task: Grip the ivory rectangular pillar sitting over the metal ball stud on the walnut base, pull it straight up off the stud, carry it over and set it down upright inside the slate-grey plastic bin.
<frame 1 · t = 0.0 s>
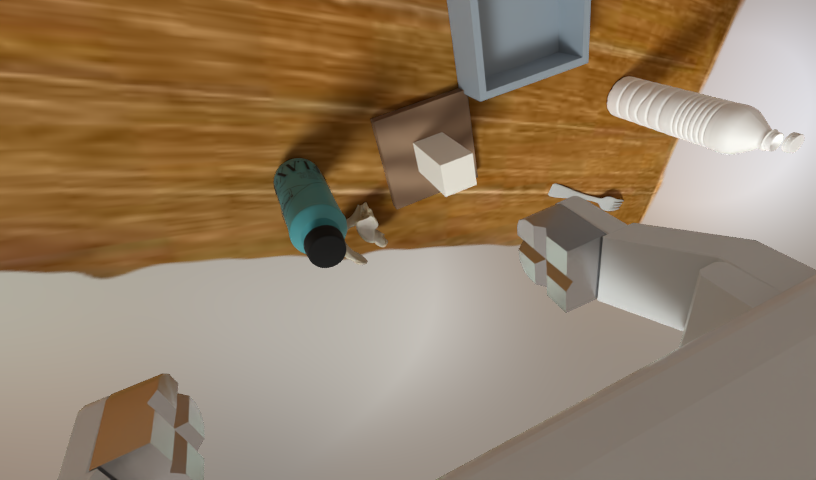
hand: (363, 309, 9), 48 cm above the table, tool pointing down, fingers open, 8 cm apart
fork: (586, 196, 81), on the table
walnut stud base: (426, 148, 63), on the table
bone: (356, 218, 65), on the table
ivory rectangular pillar: (430, 152, 62), point 1 cm above the table, touching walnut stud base
slate bin: (506, 8, 57), on the table
water bottle: (625, 96, 72), on the table
beverage bottle: (295, 175, 58), on the table
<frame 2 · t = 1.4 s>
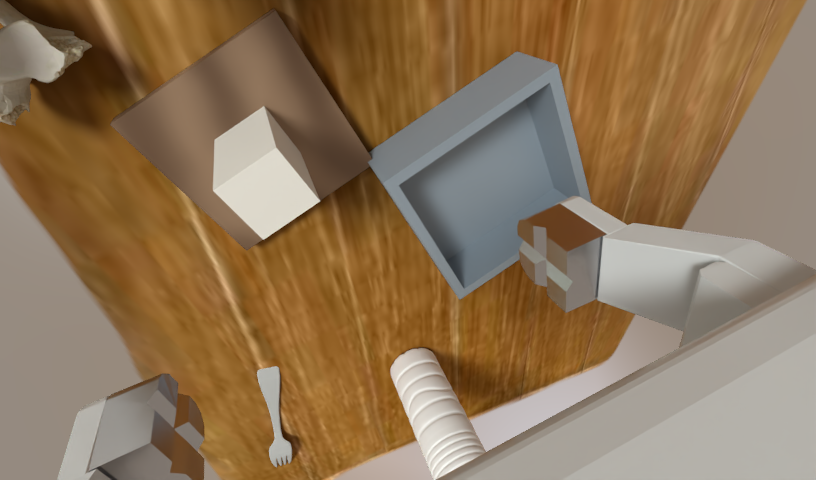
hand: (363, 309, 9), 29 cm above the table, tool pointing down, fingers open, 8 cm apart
fork: (275, 417, 55), on the table
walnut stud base: (257, 139, 35), on the table
bone: (33, 39, 27), on the table
ivory rectangular pillar: (259, 146, 34), point 1 cm above the table, touching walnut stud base
slate bin: (472, 172, 44), on the table
water bottle: (412, 368, 58), on the table
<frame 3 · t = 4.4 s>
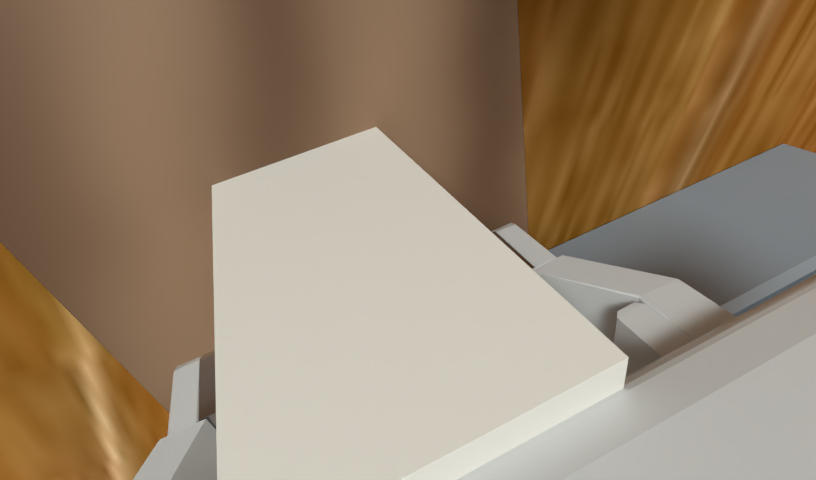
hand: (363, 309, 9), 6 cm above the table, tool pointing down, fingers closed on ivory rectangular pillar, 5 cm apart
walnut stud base: (314, 202, 14), on the table
ivory rectangular pillar: (324, 224, 13), point 2 cm above the table, touching gripper, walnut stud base
slate bin: (634, 320, 26), on the table
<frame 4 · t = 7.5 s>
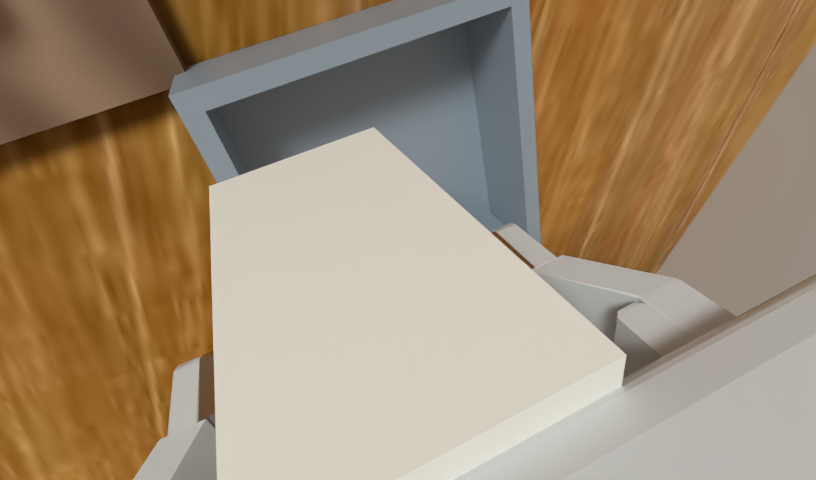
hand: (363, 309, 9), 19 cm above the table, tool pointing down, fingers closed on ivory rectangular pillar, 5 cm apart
ivory rectangular pillar: (322, 224, 13), point 15 cm above the table, touching gripper
slate bin: (373, 158, 28), on the table
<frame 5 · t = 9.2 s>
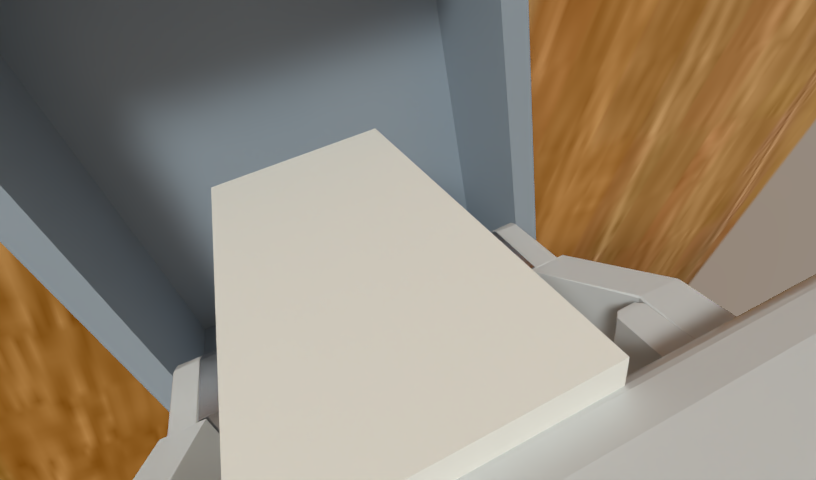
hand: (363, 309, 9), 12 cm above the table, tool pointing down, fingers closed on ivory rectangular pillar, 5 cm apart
ivory rectangular pillar: (323, 225, 13), point 8 cm above the table, touching gripper
slate bin: (290, 135, 19), on the table
when the fingers open (7 cm above the table, at t = 10.8 s): ivory rectangular pillar drops 1 cm, resting on slate bin.
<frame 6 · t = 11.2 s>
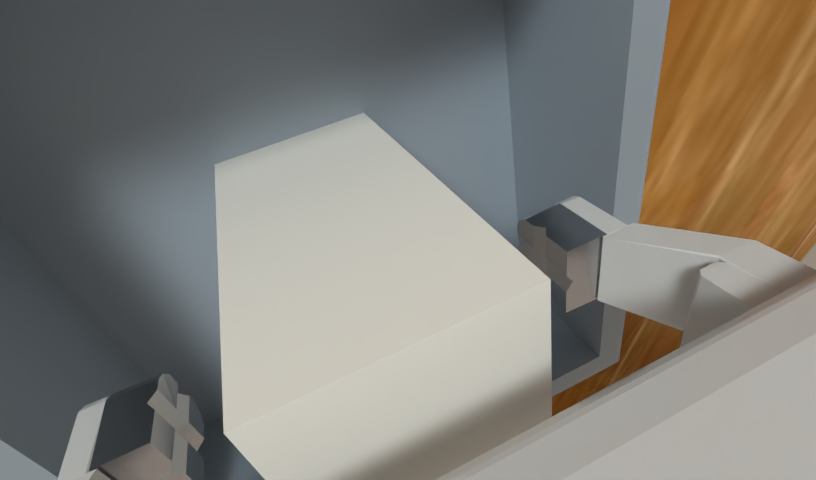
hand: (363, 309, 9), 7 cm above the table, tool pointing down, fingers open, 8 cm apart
ivory rectangular pillar: (317, 202, 14), point 1 cm above the table, touching slate bin
slate bin: (308, 191, 15), on the table
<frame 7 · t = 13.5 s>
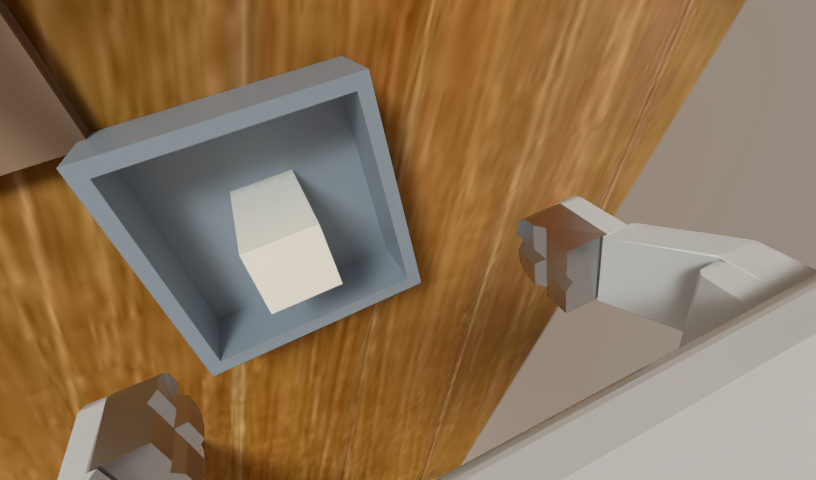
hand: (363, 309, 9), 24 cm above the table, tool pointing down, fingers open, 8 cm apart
ivory rectangular pillar: (273, 207, 32), point 1 cm above the table, touching slate bin
slate bin: (270, 202, 33), on the table
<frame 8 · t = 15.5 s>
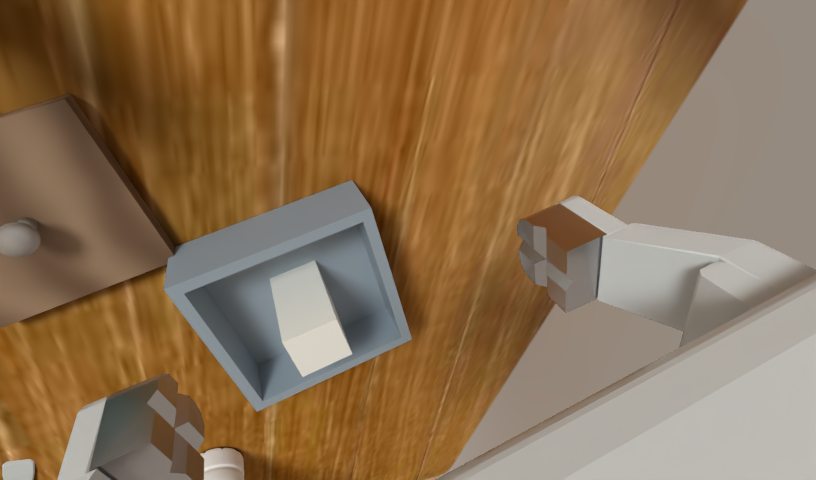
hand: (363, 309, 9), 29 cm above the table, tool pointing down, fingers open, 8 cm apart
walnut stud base: (35, 215, 32), on the table
ivory rectangular pillar: (300, 286, 43), point 1 cm above the table, touching slate bin
slate bin: (298, 281, 43), on the table
water bottle: (215, 467, 53), on the table
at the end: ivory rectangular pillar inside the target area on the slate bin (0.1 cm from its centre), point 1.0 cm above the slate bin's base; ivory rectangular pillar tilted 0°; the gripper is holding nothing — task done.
